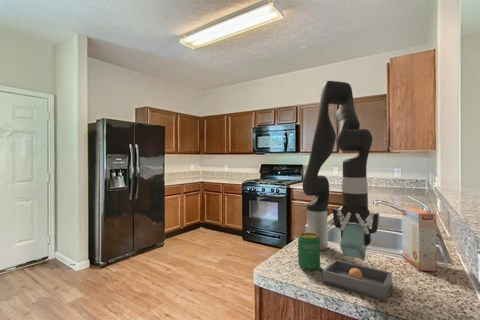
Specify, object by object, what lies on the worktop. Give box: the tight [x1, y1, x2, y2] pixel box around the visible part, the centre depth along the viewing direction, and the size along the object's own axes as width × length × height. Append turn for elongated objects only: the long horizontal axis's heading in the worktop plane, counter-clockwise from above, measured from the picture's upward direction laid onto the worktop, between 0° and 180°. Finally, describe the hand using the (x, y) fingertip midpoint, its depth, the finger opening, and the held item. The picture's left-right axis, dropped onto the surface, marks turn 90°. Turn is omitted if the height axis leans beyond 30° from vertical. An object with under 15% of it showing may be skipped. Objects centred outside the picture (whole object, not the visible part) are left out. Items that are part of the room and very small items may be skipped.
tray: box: [322, 259, 393, 302], centre depth 82 cm, size 18×12×4 cm, turn 51°
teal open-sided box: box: [339, 222, 368, 261], centre depth 80 cm, size 6×6×8 cm
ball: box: [349, 268, 362, 280], centre depth 82 cm, size 4×4×4 cm
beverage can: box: [297, 232, 321, 272], centre depth 96 cm, size 8×8×12 cm
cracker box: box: [401, 206, 437, 273], centre depth 97 cm, size 14×6×21 cm, turn 168°
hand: (355, 243), depth 81 cm, fingers closed on teal open-sided box, 6 cm apart
